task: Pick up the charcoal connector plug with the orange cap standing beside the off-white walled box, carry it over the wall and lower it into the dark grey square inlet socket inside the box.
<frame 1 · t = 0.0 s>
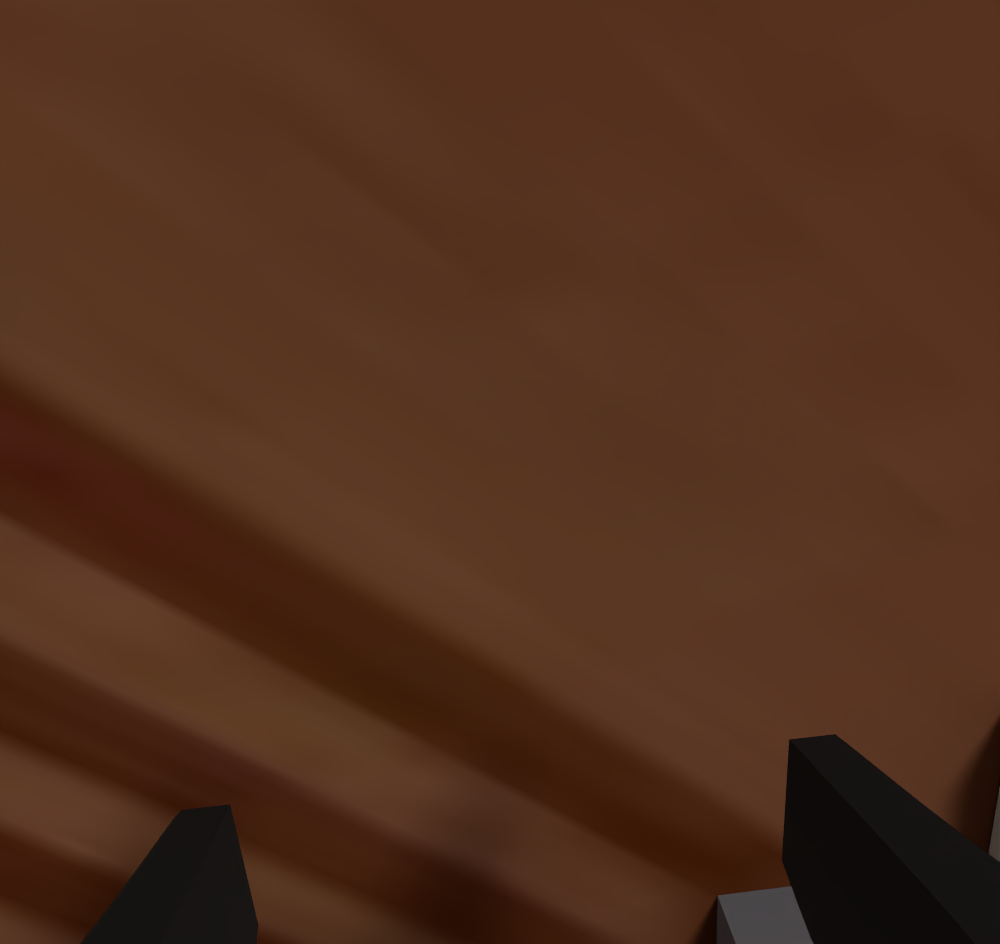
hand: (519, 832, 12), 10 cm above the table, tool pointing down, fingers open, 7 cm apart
connector: (782, 936, 27), on the table
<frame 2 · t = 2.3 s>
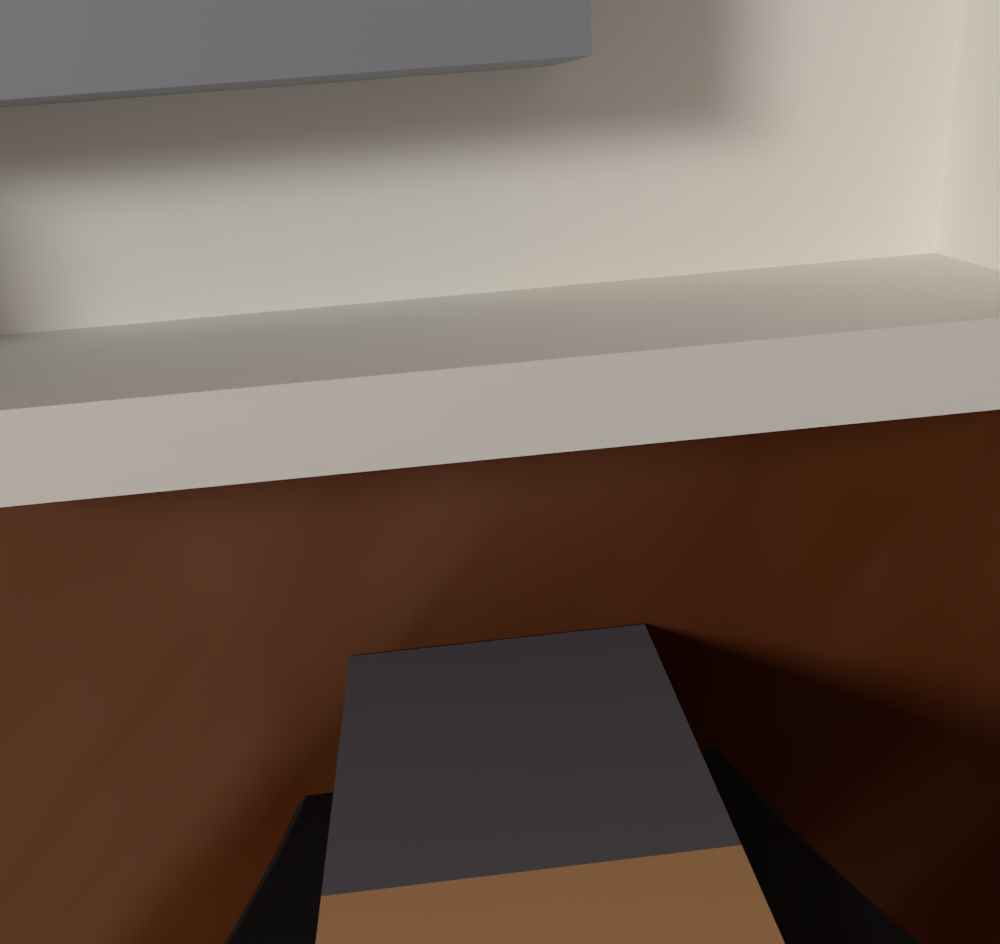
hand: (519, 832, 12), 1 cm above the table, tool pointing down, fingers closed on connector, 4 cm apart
connector: (508, 759, 13), on the table, touching gripper
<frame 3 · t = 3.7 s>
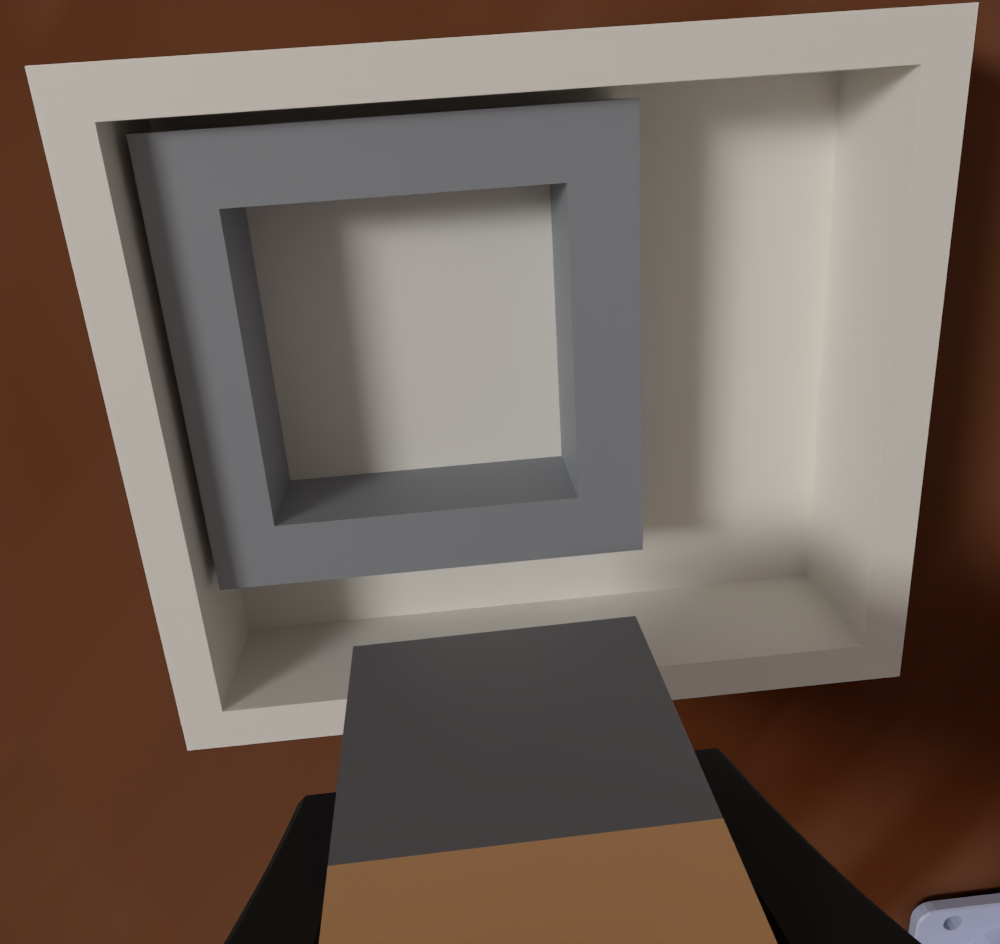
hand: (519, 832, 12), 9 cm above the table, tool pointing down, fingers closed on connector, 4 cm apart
connector: (505, 746, 14), point 7 cm above the table, touching gripper
walled box: (515, 367, 19), on the table
when the fingers open (3 cm above the table, at t = 5.3 s): connector stays where it is, resting on walled box.
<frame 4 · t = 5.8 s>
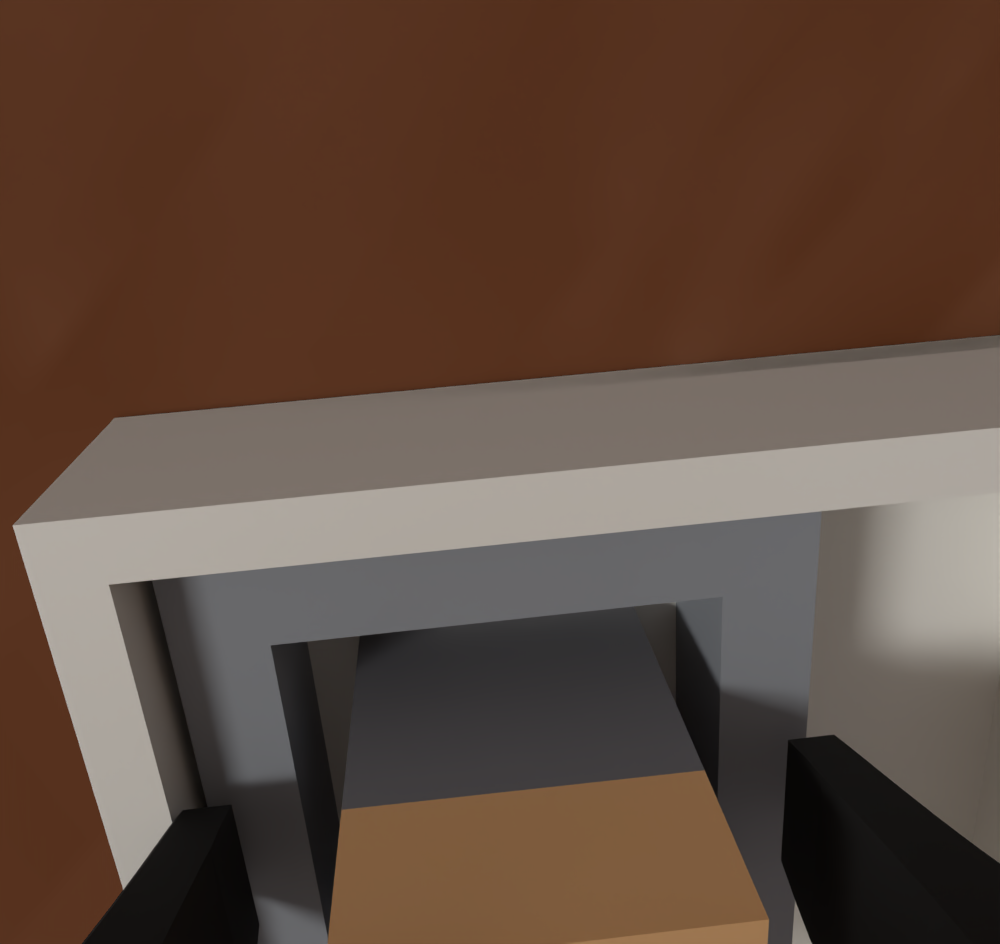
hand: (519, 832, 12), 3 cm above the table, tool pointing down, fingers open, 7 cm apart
connector: (503, 714, 14), point 1 cm above the table, touching walled box
walled box: (619, 715, 15), on the table
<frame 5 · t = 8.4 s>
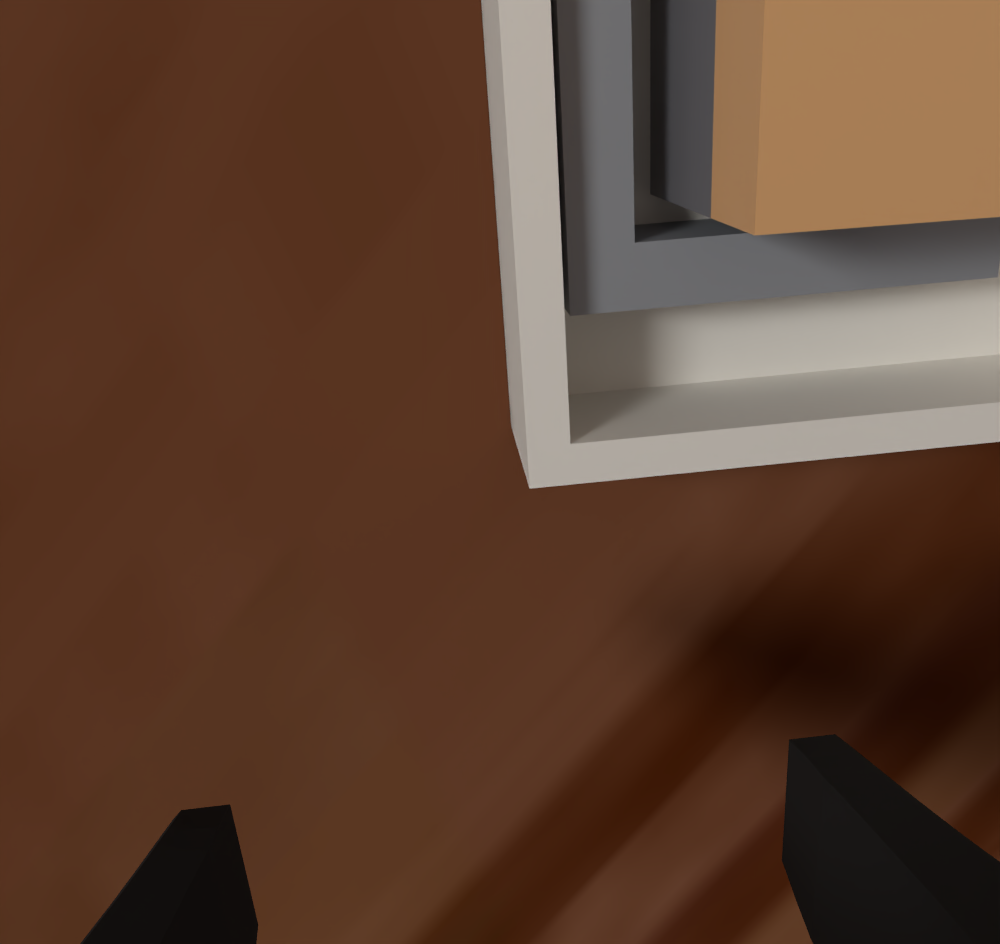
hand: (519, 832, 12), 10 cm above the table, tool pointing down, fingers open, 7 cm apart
connector: (754, 77, 17), point 1 cm above the table, touching walled box
walled box: (839, 110, 18), on the table
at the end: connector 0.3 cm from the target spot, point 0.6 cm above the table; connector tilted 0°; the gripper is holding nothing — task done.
